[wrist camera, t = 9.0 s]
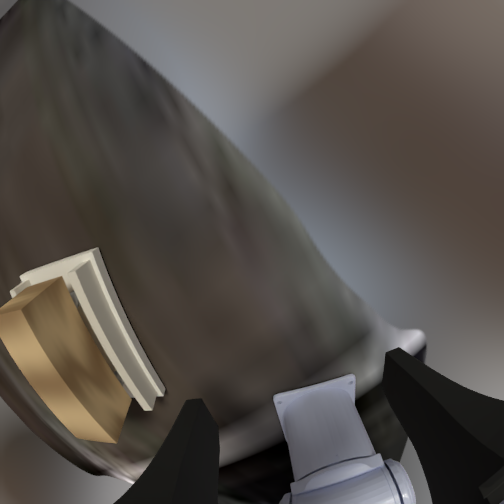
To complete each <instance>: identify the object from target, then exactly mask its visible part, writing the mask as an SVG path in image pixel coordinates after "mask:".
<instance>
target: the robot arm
mask: <svg viewBox="0 0 504 504" xmlns="http://www.w3.org/2000/svg"><path fill="white" fill-rule="evenodd" d="M355 380H356V378H355V375H354V374H348V375H345V376H342V377H339V378H336V379H333V380H329V381H326V382H322V383H319V384H315V385H312V386H308V387H304V388H300V389H296V390H292V391H288V392H283V393H279V394H276V395H274V396H273V401H274V404H275V407H276V410H277V414H278V417H279V420H280V423H281V426H282V430H283V433H284V436H285V439H286V442H288V447H289V452H290V458H291V463H292V469H293V474H294V479H295V482H293V483H291V484H290V486H291V493H287V494H285V495H284V497H283V499H282V500H281V501H280V503H279V504H416V498H415V494H414V490H413V487H412V484H411V481H410V479H409V477H408V475H407V473H406V471H405V469H404V468H403V466H402V465H401V464H400V463H399V462H397V461H393V460H392V459H388V460H386V461H384V462H383V460H382V457H381V455H380V454H376V453H375V451H374V448H373V446H372V444H371V441H370V439H369V437H368V434H367V432H366V430H365V428H364V425H363V423H362V421H361V418H360V416H359V414H358V412H357V409H356V407H355ZM382 387H383V390H384V392H385V395H386V397H387V399H388V402H389V404H390V406H391V408H392V409H393V411H394V413H395V415H396V416H397V418H398V420H399V421H400V423H401V425H402V427H403V428H404V430H405V432H406V433H407V435H408V437H409V439H410V440H411V442H412V444H413V446H414V448H415V450H416V452H417V455H418V457H419V460H420V463H421V465H422V468H423V471H424V474H425V477H426V480H427V483H428V487H429V490H430V494H431V498H432V503H433V504H504V401H503V400H499V399H495V398H492V397H488V396H485V395H483V394H480V393H477V392H475V391H473V390H470V389H467V388H465V387H463V386H461V385H459V384H458V383H456V382H453V381H452V380H450V379H448V378H446V377H445V376H443V375H441V374H440V373H438V372H436V371H435V370H433V369H431V368H430V367H428V366H427V365H425V364H424V363H422V362H420V361H419V360H417V359H416V358H414V357H413V356H411V355H410V354H408V353H407V352H405V351H404V350H402V349H401V348H399V347H398V348H396V349H393V350H391V351H388V352H386V354H385V364H384V372H383V380H382ZM219 453H220V445H219V432H218V425H217V424H216V422H215V420H214V419H213V417H212V416H211V414H210V412H209V410H208V409H207V407H206V405H205V404H204V402H203V400H202V398H200V399H191V400H186V401H185V403H184V405H183V407H182V409H181V411H180V413H179V415H178V417H177V419H176V421H175V423H174V425H173V427H172V428H171V430H170V432H169V434H168V436H167V437H166V439H165V441H164V443H163V444H162V446H161V448H160V449H159V451H158V452H157V454H156V455H155V457H154V458H153V460H152V461H151V463H150V464H149V466H148V467H147V468H146V470H145V471H144V472H143V474H142V475H141V476H140V477H139V478H138V480H137V481H136V482H135V483H134V484H133V485H132V486H131V488H129V490H128V491H127V492H126V493H125V494H124V495H123V496H122V497H121V498H120V499H118V500H117V501H116V502H115V503H114V504H218V473H219Z"/></svg>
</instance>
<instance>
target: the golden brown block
mask: <svg viewBox="0 0 504 504" xmlns="http://www.w3.org/2000/svg"><path fill="white" fill-rule="evenodd" d="M0 337H1V339H2V341H3V343H4V344H5V346H6V348H7V349H8V351H9V353H10V354H11V356H12V358H13V359H14V361H15V362H16V364H17V365H18V367H19V368H20V370H21V371H22V373H23V374H24V376H25V377H26V379H27V380H28V381H29V383H30V384H31V385H32V387H33V388H34V389H35V391H36V392H37V393H38V395H39V396H40V397H41V399H42V400H43V401H44V402H45V403H46V405H47V406H48V407H49V408H50V409H51V411H52V412H53V413H54V414H55V415H56V416H57V418H58V419H59V420H60V421H61V422H62V423H63V424H64V425H65V426H66V427H67V428H68V429H69V431H70V432H71V433H72V434H73V435H74V436H75V437H76V438H80V439H86V440H93V441H100V442H109V443H117V442H118V438H119V435H120V432H121V429H122V426H123V423H124V420H125V417H126V415H127V412H128V409H129V406H130V403H131V400H132V399H131V398H130V396H129V395H128V394H127V392H126V391H125V389H124V388H123V387H122V385H121V384H120V382H119V381H118V379H117V378H116V376H115V375H114V373H113V372H112V370H111V369H110V367H109V365H108V364H107V362H106V361H105V359H104V357H103V356H102V354H101V352H100V351H99V349H98V347H97V346H96V344H95V342H94V340H93V339H92V337H91V335H90V333H89V331H88V329H87V328H86V326H85V324H84V322H83V320H82V318H81V316H80V314H79V312H78V310H77V308H76V306H75V304H74V302H73V300H72V297H71V295H70V293H69V291H68V289H67V286H66V284H65V282H64V279H63V277H62V276H60V277H57V278H54V279H50V280H47V281H44V282H41V283H38V284H35V285H32V286H29V287H27V288H25V289H24V290H23V291H21V292H20V293H19V294H17V295H16V296H15V297H14V298H12V299H11V300H10V301H9V302H7V303H6V304H5V305H4V306H2V307H1V308H0Z"/></svg>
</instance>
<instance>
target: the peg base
mask: <svg viewBox="0 0 504 504" xmlns="http://www.w3.org/2000/svg"><path fill="white" fill-rule="evenodd" d="M60 276H62V277H63V279H64V282H65V284H66V286H67V289H68V291H69V293H70V295H71V297H72V300H73V302H74V304H75V306H76V308H77V310H78V312H79V314H80V316H81V318H82V320H83V322H84V324H85V326H86V328H87V329H88V331H89V333H90V335H91V337H92V339H93V340H94V342H95V344H96V346H97V347H98V349H99V351H100V352H101V354H102V356H103V357H104V359H105V361H106V362H107V364H108V365H109V367H110V369H111V370H112V372H113V373H114V375H115V376H116V378H117V379H118V381H119V382H120V384H121V385H122V387H123V388H124V389H125V391H126V392H127V394H128V395H129V396H130V398H136V400H137V401H138V403H139V404H140V405H141V407H142V408H143V409H144V411H151V410H153V407H154V403H155V399H156V397H157V396H164V392H165V387H164V385H163V384H162V382H161V380H160V379H159V377H158V375H157V374H156V372H155V370H154V368H153V367H152V365H151V363H150V361H149V359H148V358H147V356H146V354H145V352H144V350H143V348H142V347H141V345H140V343H139V341H138V339H137V337H136V335H135V333H134V331H133V329H132V327H131V325H130V323H129V321H128V319H127V316H126V314H125V312H124V310H123V308H122V306H121V303H120V301H119V299H118V296H117V294H116V292H115V289H114V287H113V285H112V282H111V280H110V277H109V275H108V272H107V270H106V267H105V265H104V262H103V259H102V256H101V254H100V251H99V248H95V249H92V250H88V251H85V252H82V253H79V254H76V255H73V256H70V257H67V258H64V259H62V260H59V261H56V262H53V263H50V264H47V265H44V266H42V267H39V268H36V269H33V270H31V271H28V272H26V273H24V274H23V275H21V276H20V278H21V281H22V283H21V284H19V285H18V286H16V287H15V288H14V289H12V290H11V291H10V293H11V296H12V298H14V297H15V296H16V295H17V294H19V293H20V292H21V291H23V290H24V289H25V288H27V287H29V286H32V285H35V284H38V283H41V282H44V281H47V280H50V279H54V278H57V277H60Z"/></svg>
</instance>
